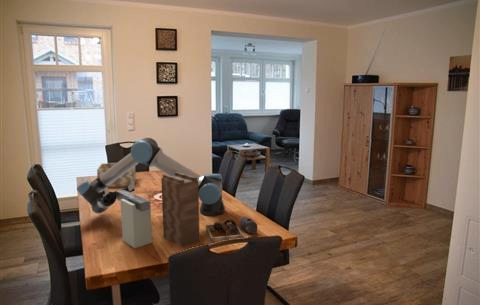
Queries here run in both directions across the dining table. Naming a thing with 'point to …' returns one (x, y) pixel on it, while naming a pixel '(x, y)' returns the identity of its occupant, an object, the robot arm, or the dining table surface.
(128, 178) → the zigzag patterned box
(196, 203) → the walnut stand
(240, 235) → the coaster tray
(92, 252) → the dining table surface
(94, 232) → the dining table surface
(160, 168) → the robot arm
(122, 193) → the bar
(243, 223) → the perforated stone tool
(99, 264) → the dining table surface
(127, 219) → the slotted cradle
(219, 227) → the pottery mug
